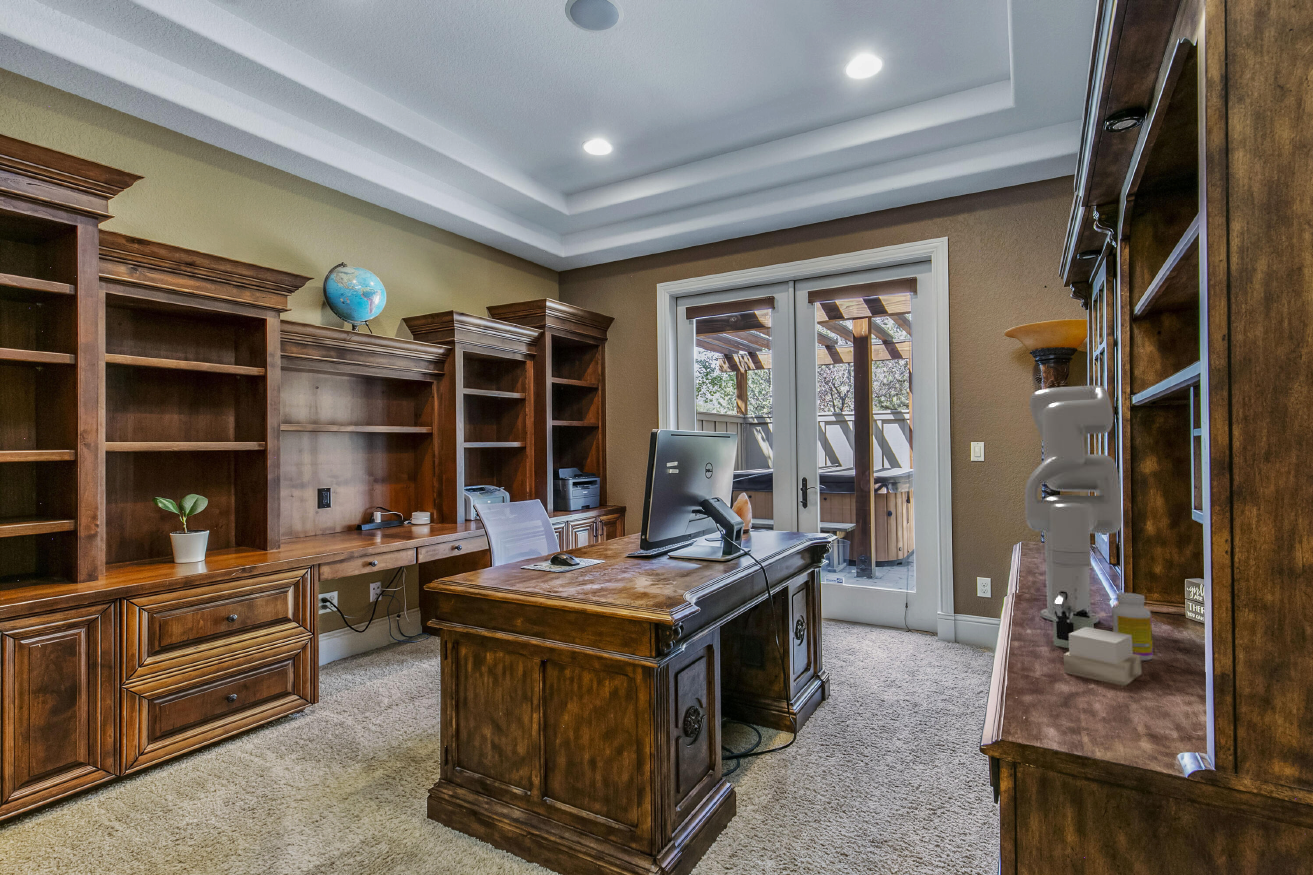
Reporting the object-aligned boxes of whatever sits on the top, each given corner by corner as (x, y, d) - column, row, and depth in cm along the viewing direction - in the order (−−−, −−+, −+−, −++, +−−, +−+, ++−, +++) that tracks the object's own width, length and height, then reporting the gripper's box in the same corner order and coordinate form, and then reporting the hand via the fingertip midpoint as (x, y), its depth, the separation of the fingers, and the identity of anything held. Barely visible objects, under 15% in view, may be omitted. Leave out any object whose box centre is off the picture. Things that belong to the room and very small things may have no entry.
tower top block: (1086, 646, 132) (1085, 626, 132) (1132, 655, 126) (1131, 635, 126) (1069, 654, 127) (1068, 634, 128) (1116, 664, 121) (1115, 643, 121)
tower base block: (1083, 663, 134) (1082, 644, 134) (1141, 675, 126) (1140, 655, 126) (1064, 674, 127) (1063, 654, 128) (1124, 688, 120) (1123, 666, 120)
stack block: (1064, 640, 149) (1063, 614, 149) (1094, 645, 144) (1093, 618, 144) (1053, 645, 145) (1052, 618, 145) (1084, 651, 140) (1083, 623, 140)
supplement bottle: (1160, 662, 132) (1157, 598, 132) (1123, 661, 133) (1121, 598, 134) (1142, 652, 139) (1140, 591, 139) (1107, 651, 140) (1105, 591, 140)
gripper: (1066, 553, 153) (1069, 626, 153) (1036, 560, 142) (1039, 639, 142) (1103, 556, 147) (1106, 632, 147) (1075, 564, 136) (1078, 646, 136)
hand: (1073, 635), depth 144 cm, fingers open, 9 cm apart
